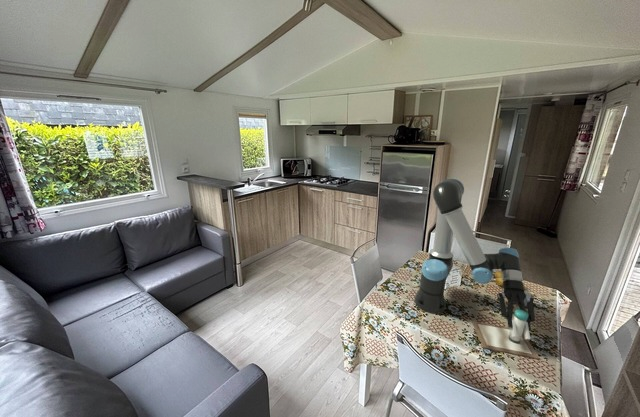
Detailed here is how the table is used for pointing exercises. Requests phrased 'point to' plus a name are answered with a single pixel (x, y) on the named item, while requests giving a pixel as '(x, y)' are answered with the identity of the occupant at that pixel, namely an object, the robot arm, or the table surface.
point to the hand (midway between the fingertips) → (520, 337)
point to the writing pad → (502, 340)
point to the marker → (519, 325)
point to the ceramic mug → (527, 296)
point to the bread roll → (499, 278)
